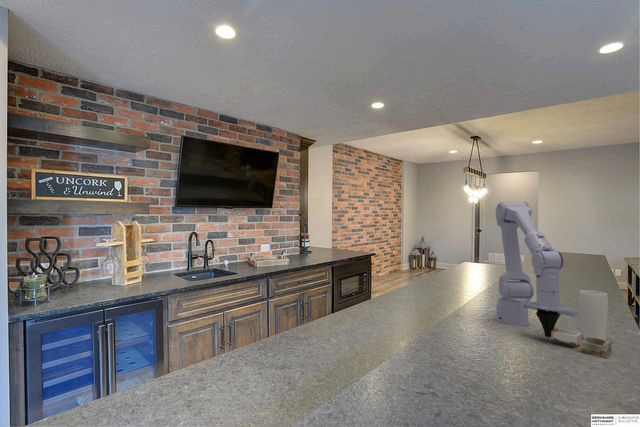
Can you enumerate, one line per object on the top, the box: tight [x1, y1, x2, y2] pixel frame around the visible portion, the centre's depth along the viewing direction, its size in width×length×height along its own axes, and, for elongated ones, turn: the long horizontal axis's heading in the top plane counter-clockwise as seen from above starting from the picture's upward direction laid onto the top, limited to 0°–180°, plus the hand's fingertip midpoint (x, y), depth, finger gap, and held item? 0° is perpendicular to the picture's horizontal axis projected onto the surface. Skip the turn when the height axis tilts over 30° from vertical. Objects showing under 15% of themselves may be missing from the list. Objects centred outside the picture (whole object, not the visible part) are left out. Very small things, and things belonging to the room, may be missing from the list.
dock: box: [571, 336, 612, 359], centre depth 93 cm, size 19×12×4 cm, turn 40°
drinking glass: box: [578, 289, 609, 340], centre depth 98 cm, size 7×7×15 cm
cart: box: [550, 327, 582, 347], centre depth 93 cm, size 6×5×3 cm
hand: (548, 336), depth 96 cm, fingers closed
